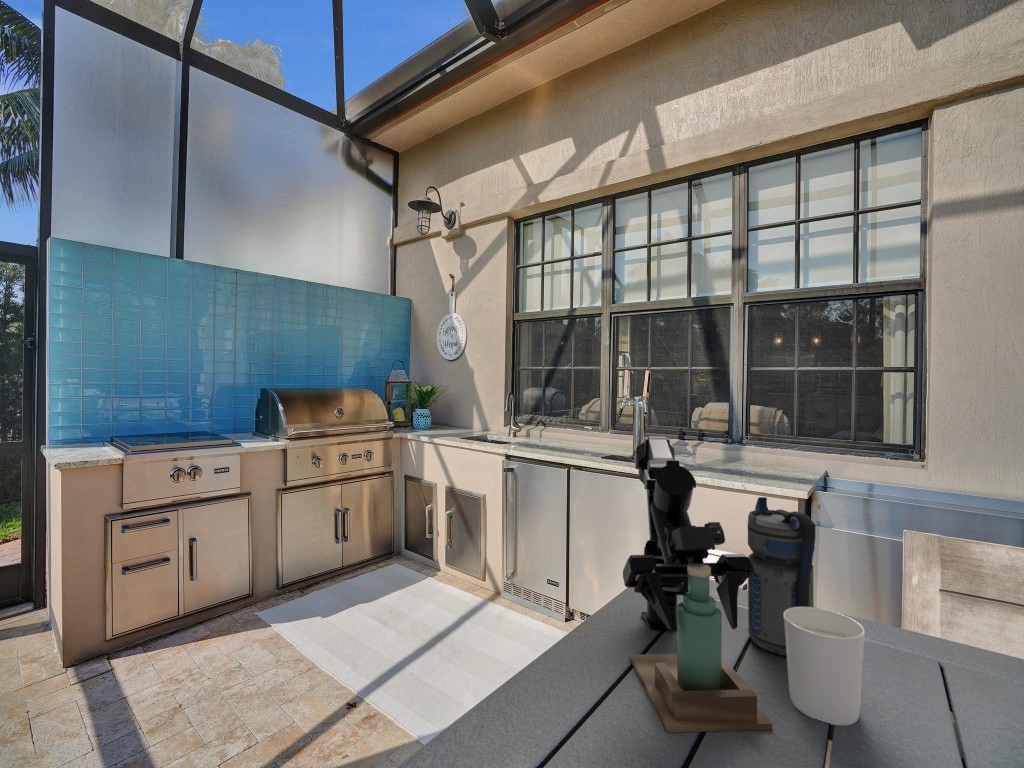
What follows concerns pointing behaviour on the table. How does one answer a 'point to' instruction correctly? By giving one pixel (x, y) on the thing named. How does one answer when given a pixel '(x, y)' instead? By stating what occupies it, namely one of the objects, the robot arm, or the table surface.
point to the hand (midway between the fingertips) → (703, 628)
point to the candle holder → (824, 663)
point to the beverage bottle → (778, 571)
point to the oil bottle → (699, 635)
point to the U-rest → (698, 699)
